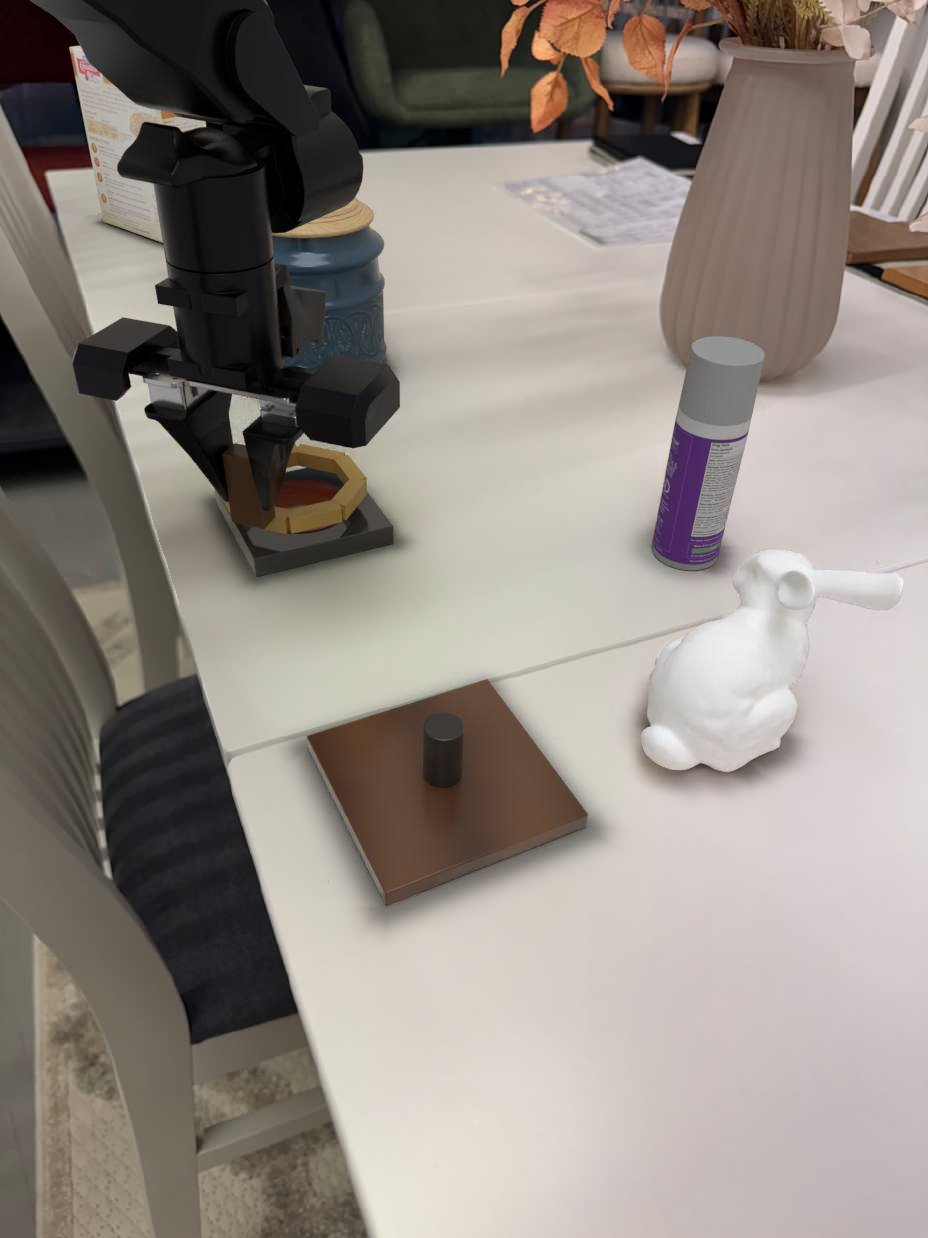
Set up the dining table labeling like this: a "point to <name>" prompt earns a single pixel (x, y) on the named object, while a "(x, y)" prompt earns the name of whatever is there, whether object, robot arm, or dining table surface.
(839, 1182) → the dining table surface
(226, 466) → the ring
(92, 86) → the coffeecake box
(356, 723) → the brown peg base
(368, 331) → the canister
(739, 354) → the container
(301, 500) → the stove
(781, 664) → the rabbit
